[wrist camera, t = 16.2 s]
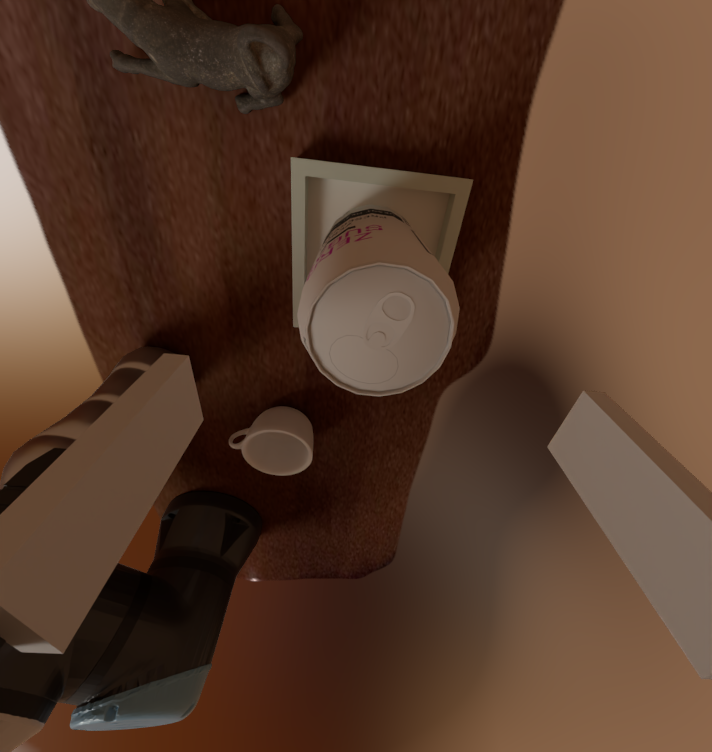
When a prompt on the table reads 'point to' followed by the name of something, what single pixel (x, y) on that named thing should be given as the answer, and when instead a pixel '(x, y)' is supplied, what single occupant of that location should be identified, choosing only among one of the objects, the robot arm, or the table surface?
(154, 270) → the table surface
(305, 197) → the can tray
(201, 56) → the dog figurine
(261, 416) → the teacup
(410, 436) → the table surface
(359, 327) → the supplement can
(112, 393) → the plastic bottle
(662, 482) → the robot arm
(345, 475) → the table surface
